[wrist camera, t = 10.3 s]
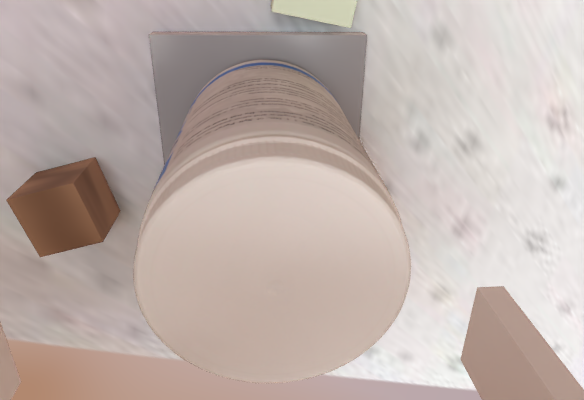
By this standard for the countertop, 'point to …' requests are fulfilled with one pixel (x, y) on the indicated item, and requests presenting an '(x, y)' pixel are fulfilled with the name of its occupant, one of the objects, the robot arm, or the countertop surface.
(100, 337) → the countertop surface
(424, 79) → the countertop surface
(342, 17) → the pale green cube
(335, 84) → the slate coaster
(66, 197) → the walnut block
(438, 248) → the countertop surface
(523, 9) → the countertop surface
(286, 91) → the supplement tub
